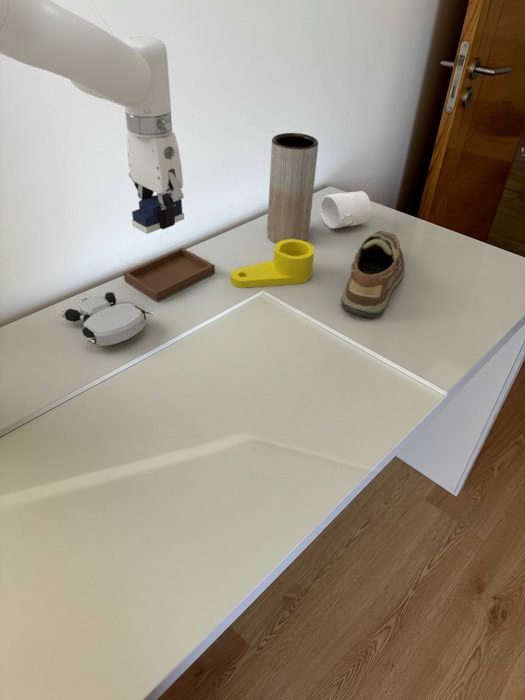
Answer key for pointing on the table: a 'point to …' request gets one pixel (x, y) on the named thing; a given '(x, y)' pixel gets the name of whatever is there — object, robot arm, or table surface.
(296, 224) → the planter
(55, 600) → the table surface
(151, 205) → the navy stepped block
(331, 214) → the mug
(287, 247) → the crank
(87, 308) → the robot toy
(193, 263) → the tray
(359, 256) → the boat shoe
